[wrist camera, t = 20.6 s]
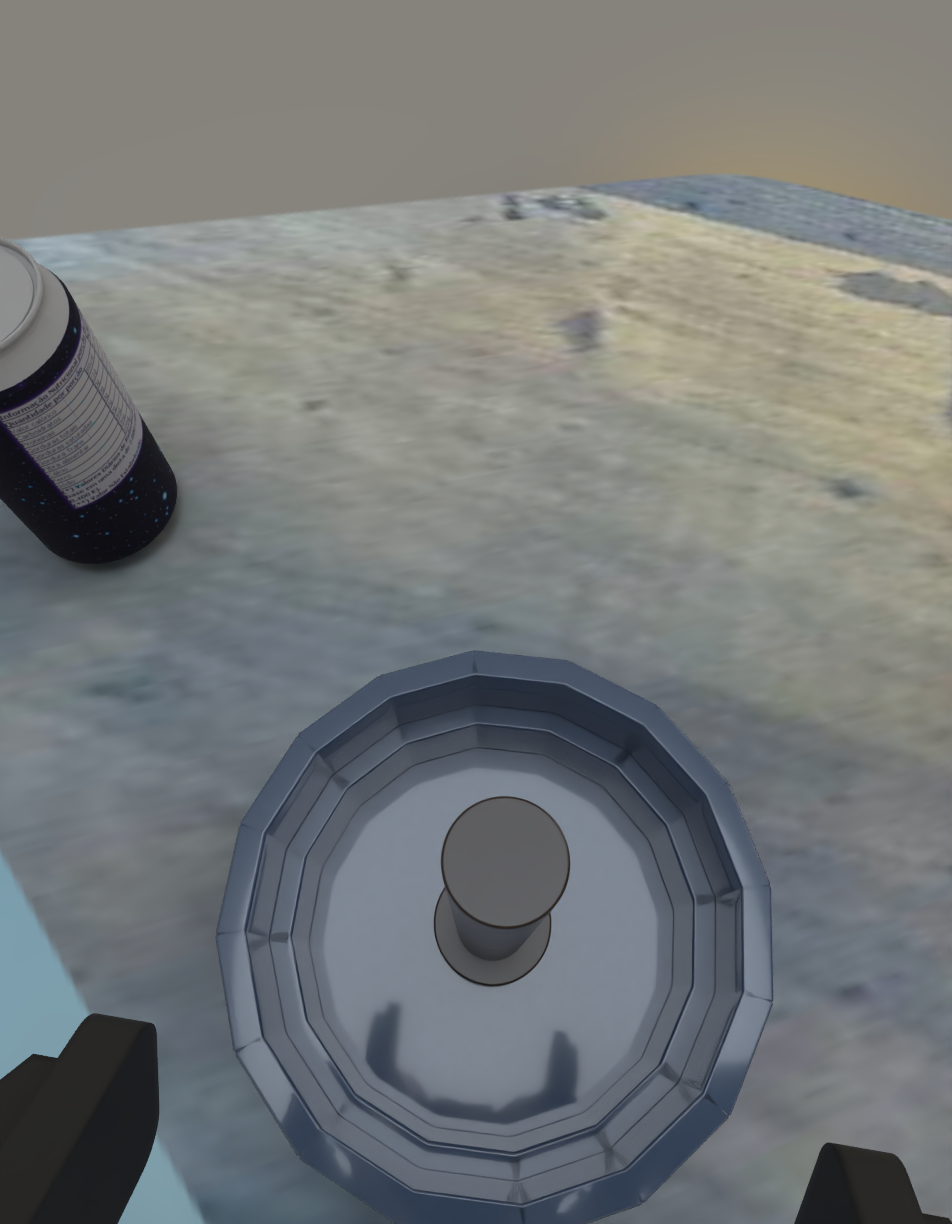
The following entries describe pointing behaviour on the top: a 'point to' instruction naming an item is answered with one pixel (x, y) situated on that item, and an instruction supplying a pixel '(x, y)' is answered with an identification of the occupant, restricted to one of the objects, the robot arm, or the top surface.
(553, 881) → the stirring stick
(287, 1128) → the bowl
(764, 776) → the top surface
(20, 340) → the beverage can
